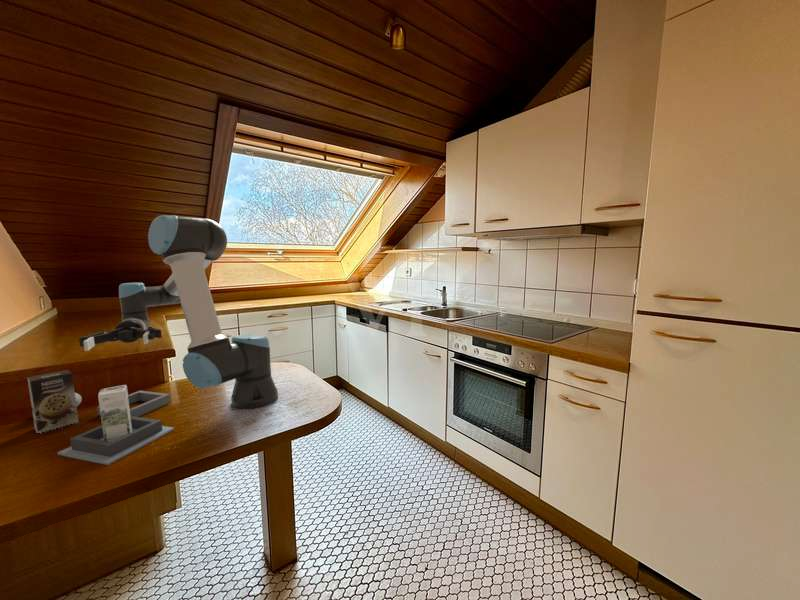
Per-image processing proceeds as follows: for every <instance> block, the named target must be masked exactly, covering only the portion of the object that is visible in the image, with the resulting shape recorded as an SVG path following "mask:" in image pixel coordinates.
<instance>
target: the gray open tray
mask: <svg viewBox="0 0 800 600" xmlns="http://www.w3.org/2000/svg"><path fill="white" fill-rule="evenodd" d="M128 400H129V406H130V405H132V404H134V403H137V402H143V403H141V404H139V405H136V406H134V407H132V408H129V409H130V416H136V417H141V416H144V415H145V414H147V413H150V412H153V411H154V410H157V409H159V408H161V407H163V406H166V405H169V404H170V403H172V401H171V400H172V399H171V393H164V392H157V391H156V392H154V391H146V390H138V391H135V392H132V393H130V394H128ZM96 409H97V416H98V415H100V416H99V417H101V413H100V406H99V405H97V407H96Z"/></svg>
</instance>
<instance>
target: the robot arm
mask: <svg viewBox="0 0 800 600" xmlns="http://www.w3.org/2000/svg"><path fill="white" fill-rule="evenodd" d="M147 237H148V238H147V241H148V246H149V248H150V250H151V251H152V252H153V253H154V254H157V255H159V256H160V255H161V258H162V262H163V263H164V264H166V265H168V266H169V267H170V269H171V275H170V276H169V278H168V279H167V280H166V281H165V283H163V284H162V285H158V286H157V285H156V286H155V285H154V286H145V283H143V282H126V283H125V282H124V283H121V284H119V286H118V297H119V304H120V312H121V320H122V321H121V322H119V323H118V324H117V325H116V327H115V328H114V329H113V330H109V331H108V332H107V331H105V330H102V331H99V332H97V333H93V334H89V335H85V336H80V337H79V338H78V343H79V347H83V349H84V351H85V352H88V351H90V350H91V349H92V348H94V347H95V345H98V344H102V343H103V344H104V343H107V342H117V341H120V342H122V343H127V344H130V343H131V344H132V343H134V342H137V341H138V340H140V339H142V340H143V345H147V344H149V342H150V341H151V340H154V339H155V338H157V339H161V338H162V330H161V329H158V328H154V327H152V326H151V325H150V324H151V320H150V318H149V317H148V315H149V314H148V308H151V307H157V306H158V307H159V306H166V305H176V304H180V305H181V310H182V313H183V315H184V319H185V324H186V327H187V331H188V334H189V338H190V343H189V345H188V346H187V349H186V350H187V352H188V353H187V354H186V355H184V357H183V358H182V362H183V363H182V369H183V373H184V375H185V377H186V379H187V380H188V381H189V382H190V383H191V384H192V385H193V386H194V387H196V388H198V389H202V390H204V389H210V388H212V387H218V386H219V385H222V384H224V383H227V382H229V381H232V380H235V381H234V385H233V389H232V394H231V398H230V400H231V403H230V404H231V406H232V407H234V408H236V409H240V410H241V409H242V410H243V409H244V410H246V409H256V408H260V407H264V406H267V405H270V404H272V403H273V402H275V401H277V399H278V398H277V397H279V394H278V393H279V392H278V388H277V387H276V385H275V382H274V379H273V377H272V366H271V352H270V351H271V350H270V349H271V347H270V343H269V342H270V341H269V338H268V337H267V336H266V335H259V334H239V335H234V336H233V337H232V336H231V342H230V338H229V336H227V335H226V334H224V333H222V329H221V325H220V322H219V318H218V314H217V311H216V308H215V304H214V303H215V302H214V299H213V296H212V293H211V289H210V286H209V281H208V277H207V276H206V275H207V274H206V272H205V270H206V269H207V268H208V267H209V266H210V264H211V263H212V262H214V261H218V260H219V259H220V258H221V257H222V255H224V253H225V251H226V248H227V245H228V236H227V234H226V231H225V230H224V228H223V227H222V226H221V225H220V224H219V223H218V222H216V221H214V220H212V219H209V218H204V217H200V218H199V217H194V216H193V217H191V216H182V215H181V216H180V215H179V216H178V215H176V214H172V215H163V214H162V215H158V216H157V217H154V219H153V220H152V221H151V223H150V226H149V229H148V234H147ZM276 398H277V399H276ZM274 400H275V401H274ZM271 402H272V403H271Z"/></svg>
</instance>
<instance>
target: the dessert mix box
mask: <svg viewBox="0 0 800 600" xmlns="http://www.w3.org/2000/svg"><path fill="white" fill-rule="evenodd" d="M27 382H28V383H27V385H28V391H29V397H30V403H31V404H30V405H31V406H30V407H31V412H32V413H31V414H32V421H33V426H34V427H33V428H34V430H35V432H36V433H40V434H43V433H42V432H44V433H47V432H49V430H51V431H54V430H57V429H56V428H58V429H60V427H61V428H64V427H63V426H65V427H67V426H66V425H68V426H71V425H70V424H72V425H74V423H75V424H78V423H80V422H79V416H78V415H79V414H78V408H77V407H78V406H77V407H76V399H75V393H76V392H75V385H74V378H73V373H72V372H71V371H69V369H65V370H64V369H63V370H60V371H54V372H49V373H44V374H39V375H32V376H27ZM53 429H54V430H53ZM46 431H47V432H46Z"/></svg>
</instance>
